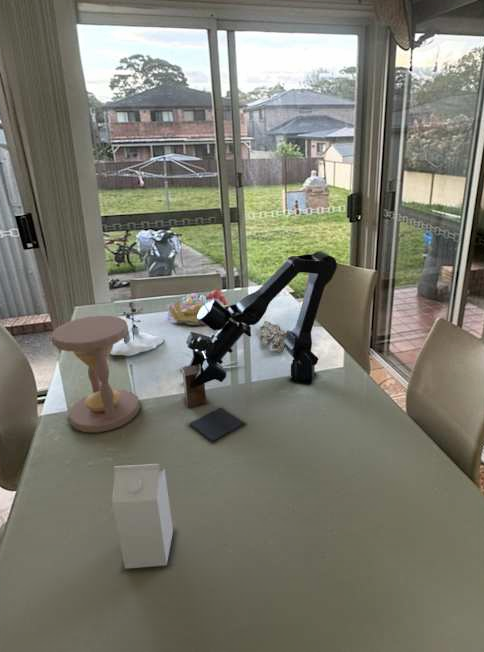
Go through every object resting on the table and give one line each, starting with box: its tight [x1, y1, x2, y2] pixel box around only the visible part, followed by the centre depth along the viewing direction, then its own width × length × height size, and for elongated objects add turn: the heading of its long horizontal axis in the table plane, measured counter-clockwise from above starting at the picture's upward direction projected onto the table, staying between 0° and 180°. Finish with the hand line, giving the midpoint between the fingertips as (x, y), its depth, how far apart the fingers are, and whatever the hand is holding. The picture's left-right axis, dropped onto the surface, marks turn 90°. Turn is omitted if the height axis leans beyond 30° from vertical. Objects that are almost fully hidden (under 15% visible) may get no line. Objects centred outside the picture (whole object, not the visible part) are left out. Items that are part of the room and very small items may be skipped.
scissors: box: [182, 360, 240, 385], centre depth 140 cm, size 11×1×20 cm
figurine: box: [110, 301, 164, 357], centre depth 154 cm, size 20×18×16 cm
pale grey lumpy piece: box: [259, 320, 287, 354], centre depth 161 cm, size 25×10×5 cm
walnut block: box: [181, 364, 207, 408], centre depth 122 cm, size 5×5×10 cm
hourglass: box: [51, 315, 141, 434], centre depth 114 cm, size 18×18×25 cm
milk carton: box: [111, 463, 174, 569], centre depth 76 cm, size 7×7×19 cm
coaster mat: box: [189, 407, 245, 443], centre depth 113 cm, size 10×10×1 cm
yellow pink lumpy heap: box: [167, 289, 228, 326], centre depth 182 cm, size 25×24×9 cm
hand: (188, 381), depth 121 cm, fingers open, 6 cm apart
